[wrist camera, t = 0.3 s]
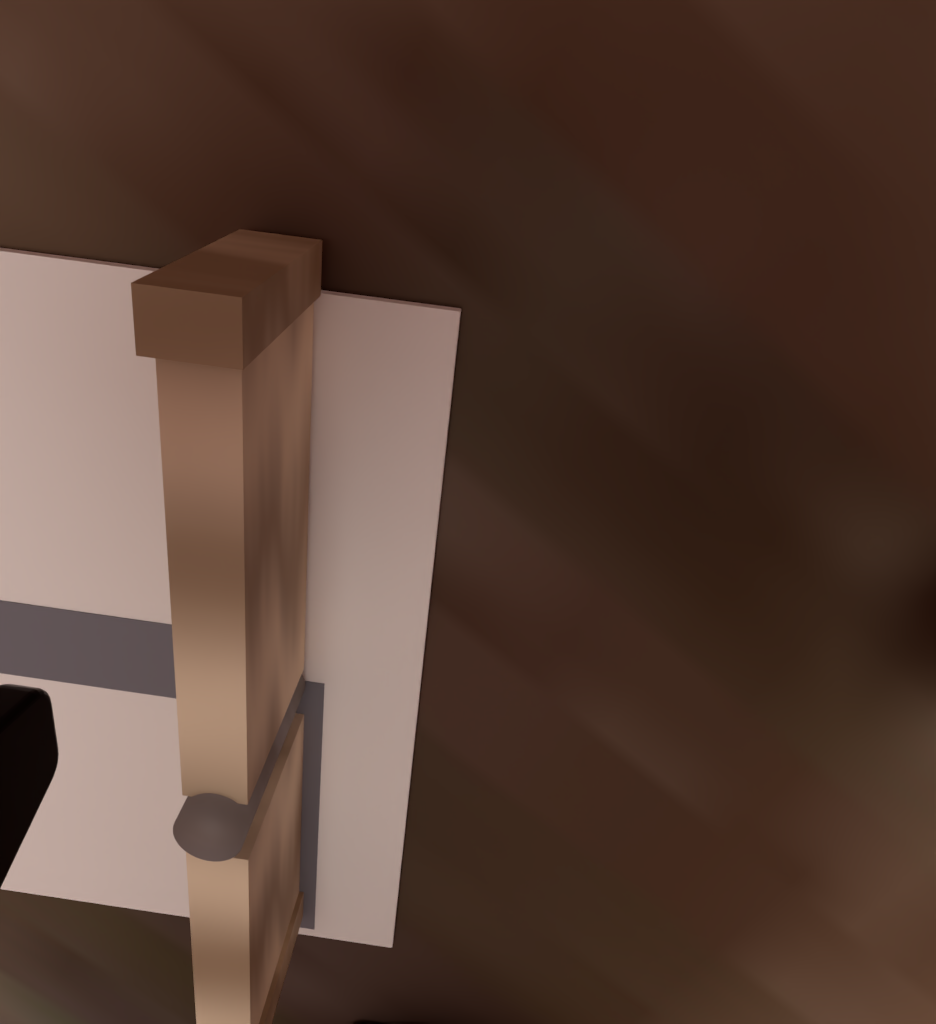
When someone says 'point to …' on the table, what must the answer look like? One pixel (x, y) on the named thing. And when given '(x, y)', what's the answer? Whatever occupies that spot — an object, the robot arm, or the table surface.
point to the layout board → (146, 594)
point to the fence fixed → (251, 904)
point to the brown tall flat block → (233, 510)
